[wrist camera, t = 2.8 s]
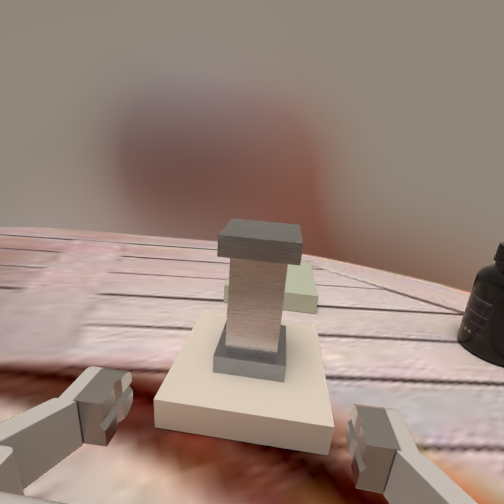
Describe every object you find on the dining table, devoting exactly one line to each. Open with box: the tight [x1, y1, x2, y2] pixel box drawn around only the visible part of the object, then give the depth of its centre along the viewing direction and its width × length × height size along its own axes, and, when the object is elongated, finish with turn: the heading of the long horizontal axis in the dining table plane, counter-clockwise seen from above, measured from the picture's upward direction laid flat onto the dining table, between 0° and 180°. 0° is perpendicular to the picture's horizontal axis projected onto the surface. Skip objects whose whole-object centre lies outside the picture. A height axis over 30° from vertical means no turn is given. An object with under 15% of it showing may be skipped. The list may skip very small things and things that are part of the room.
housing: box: [213, 218, 303, 383], centre depth 23 cm, size 6×6×11 cm
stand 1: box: [224, 263, 318, 314], centre depth 43 cm, size 12×12×2 cm
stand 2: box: [154, 311, 334, 455], centre depth 25 cm, size 12×12×2 cm
